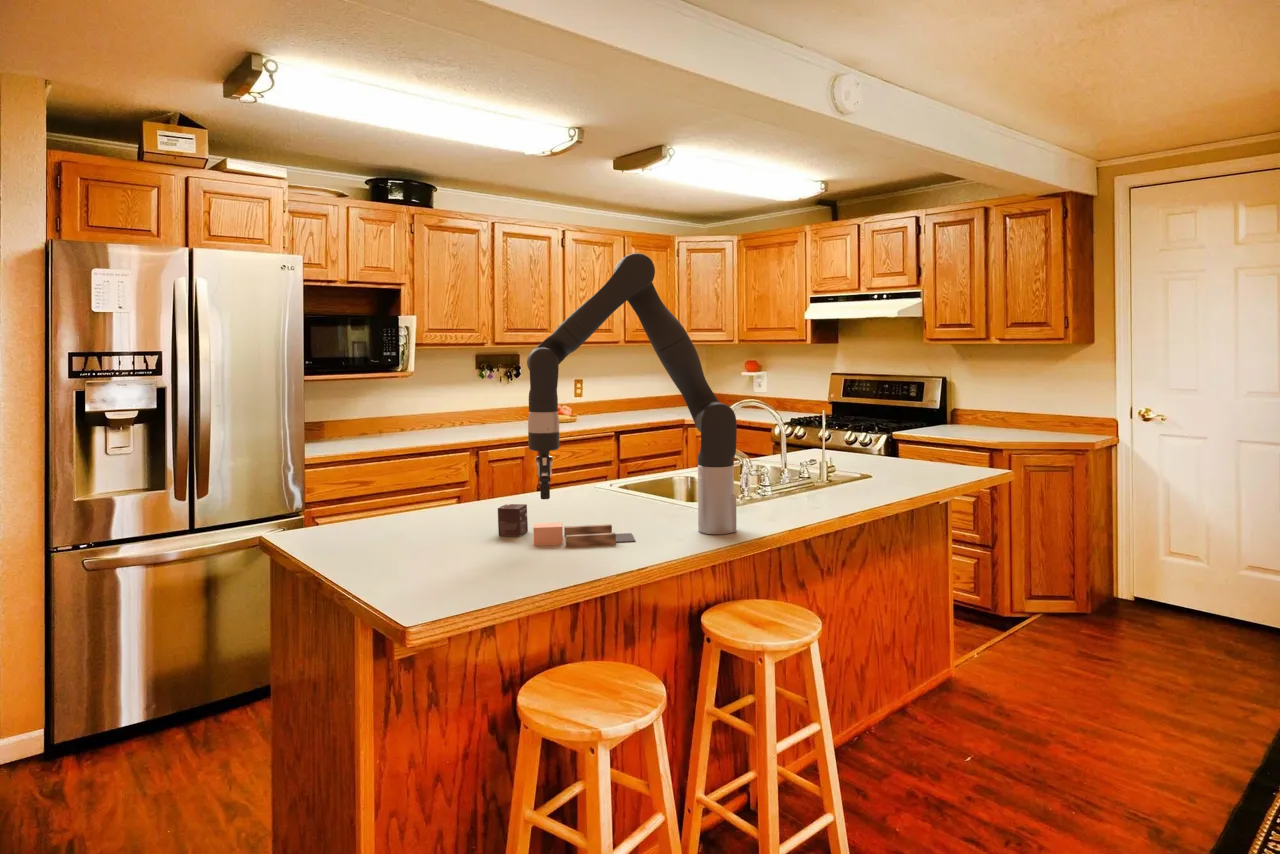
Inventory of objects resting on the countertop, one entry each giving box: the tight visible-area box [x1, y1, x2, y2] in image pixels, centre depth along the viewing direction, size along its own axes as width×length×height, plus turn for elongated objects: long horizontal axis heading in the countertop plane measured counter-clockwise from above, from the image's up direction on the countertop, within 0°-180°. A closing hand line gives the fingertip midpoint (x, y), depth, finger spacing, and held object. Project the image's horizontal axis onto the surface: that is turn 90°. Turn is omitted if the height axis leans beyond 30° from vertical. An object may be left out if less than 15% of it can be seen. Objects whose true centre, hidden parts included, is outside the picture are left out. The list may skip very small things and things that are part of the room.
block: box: [532, 521, 564, 546], centre depth 187 cm, size 7×5×4 cm
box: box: [497, 503, 529, 537], centre depth 196 cm, size 6×6×7 cm
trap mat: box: [615, 532, 636, 544], centre depth 189 cm, size 5×8×1 cm, turn 8°
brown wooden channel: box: [563, 523, 617, 548], centre depth 188 cm, size 12×11×2 cm
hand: (544, 495), depth 186 cm, fingers open, 8 cm apart
